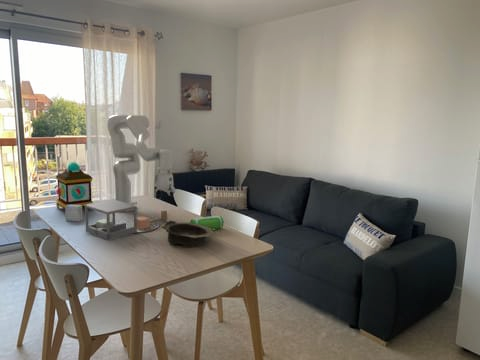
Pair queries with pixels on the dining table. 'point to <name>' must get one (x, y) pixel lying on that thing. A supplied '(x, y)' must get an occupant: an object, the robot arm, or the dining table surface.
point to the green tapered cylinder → (209, 221)
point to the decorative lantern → (73, 187)
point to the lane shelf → (107, 209)
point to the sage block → (103, 223)
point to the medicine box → (73, 213)
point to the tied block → (145, 222)
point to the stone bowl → (186, 233)
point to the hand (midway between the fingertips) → (164, 200)
